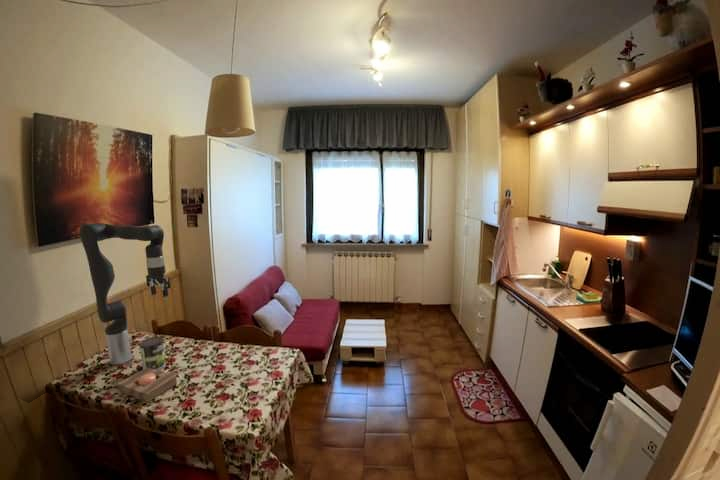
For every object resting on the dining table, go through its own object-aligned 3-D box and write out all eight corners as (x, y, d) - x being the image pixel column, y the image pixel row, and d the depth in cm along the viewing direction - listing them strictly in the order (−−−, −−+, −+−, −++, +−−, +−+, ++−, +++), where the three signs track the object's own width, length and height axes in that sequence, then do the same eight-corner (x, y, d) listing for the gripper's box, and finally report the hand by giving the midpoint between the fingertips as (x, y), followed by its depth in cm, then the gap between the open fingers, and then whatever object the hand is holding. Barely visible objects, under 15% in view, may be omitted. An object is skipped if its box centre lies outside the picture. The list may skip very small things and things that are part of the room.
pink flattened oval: (136, 389, 145) (134, 380, 144) (150, 380, 151) (149, 372, 150) (145, 392, 142) (144, 383, 142) (160, 383, 149) (158, 375, 148)
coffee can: (170, 361, 168) (167, 337, 165) (154, 372, 158) (151, 347, 155) (154, 359, 170) (151, 335, 167) (137, 370, 160) (133, 345, 157)
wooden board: (118, 391, 144) (117, 383, 143) (148, 374, 157) (147, 366, 156) (148, 402, 137) (146, 394, 136) (176, 383, 150) (175, 375, 149)
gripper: (138, 265, 156) (143, 296, 159) (158, 268, 151) (162, 299, 154) (153, 261, 163) (157, 291, 166) (172, 264, 157) (176, 294, 161)
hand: (159, 295), depth 160 cm, fingers open, 8 cm apart
